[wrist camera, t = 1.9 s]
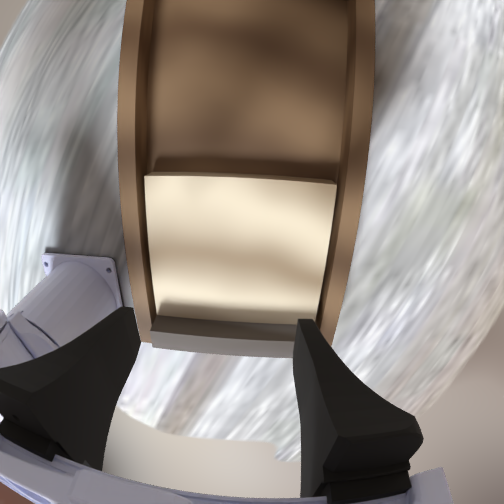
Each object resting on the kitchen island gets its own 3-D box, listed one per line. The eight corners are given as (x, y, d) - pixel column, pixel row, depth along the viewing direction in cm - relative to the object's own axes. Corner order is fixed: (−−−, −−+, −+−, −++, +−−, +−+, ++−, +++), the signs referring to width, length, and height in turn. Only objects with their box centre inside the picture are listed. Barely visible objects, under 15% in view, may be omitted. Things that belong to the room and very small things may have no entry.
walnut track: (323, 330, 25) (331, 362, 22) (151, 319, 25) (137, 349, 22) (359, -15, 14) (377, -36, 10) (148, -20, 14) (127, -41, 10)
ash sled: (308, 329, 24) (314, 358, 21) (164, 319, 24) (152, 347, 21) (331, 180, 19) (345, 192, 16) (152, 171, 19) (132, 182, 16)
